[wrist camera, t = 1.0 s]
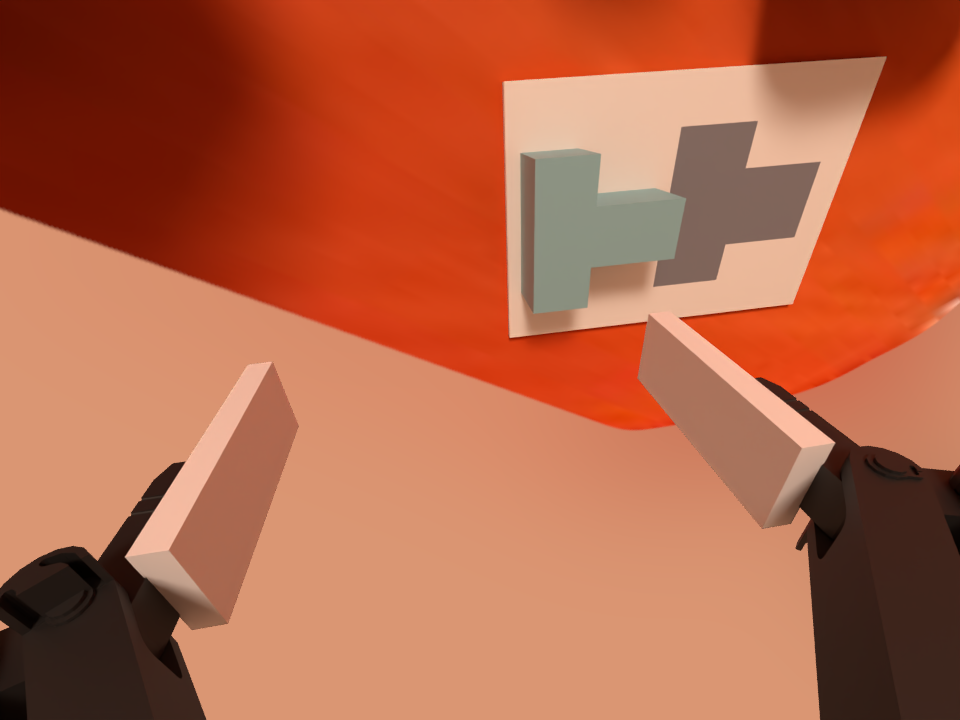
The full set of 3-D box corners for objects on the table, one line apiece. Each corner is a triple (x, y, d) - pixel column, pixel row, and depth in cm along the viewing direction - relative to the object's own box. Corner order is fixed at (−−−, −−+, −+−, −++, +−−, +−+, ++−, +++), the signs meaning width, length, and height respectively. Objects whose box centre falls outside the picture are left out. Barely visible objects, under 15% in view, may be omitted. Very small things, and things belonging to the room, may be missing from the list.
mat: (502, 81, 25) (503, 81, 25) (879, 57, 28) (887, 56, 27) (508, 335, 35) (509, 337, 34) (788, 301, 37) (792, 303, 37)
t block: (520, 152, 27) (535, 159, 24) (662, 141, 28) (696, 145, 25) (521, 292, 32) (533, 313, 29) (640, 279, 33) (666, 298, 30)
